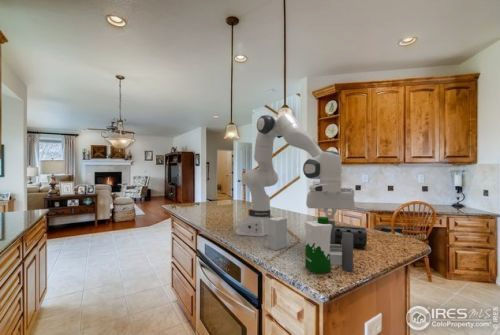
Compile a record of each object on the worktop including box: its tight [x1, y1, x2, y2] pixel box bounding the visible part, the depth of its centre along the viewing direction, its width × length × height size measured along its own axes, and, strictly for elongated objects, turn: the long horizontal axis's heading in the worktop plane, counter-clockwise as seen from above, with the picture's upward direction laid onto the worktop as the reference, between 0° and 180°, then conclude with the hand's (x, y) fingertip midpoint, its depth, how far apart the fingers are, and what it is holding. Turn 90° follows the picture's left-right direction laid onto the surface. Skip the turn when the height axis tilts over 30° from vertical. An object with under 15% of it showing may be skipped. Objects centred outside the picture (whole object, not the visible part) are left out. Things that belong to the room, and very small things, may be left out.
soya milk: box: [304, 216, 332, 274], centre depth 92 cm, size 9×9×20 cm
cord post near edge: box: [341, 232, 354, 273], centre depth 92 cm, size 4×4×14 cm
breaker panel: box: [330, 244, 342, 266], centre depth 104 cm, size 11×14×6 cm
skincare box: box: [267, 215, 288, 251], centre depth 117 cm, size 8×6×15 cm
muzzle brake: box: [335, 225, 368, 248], centre depth 123 cm, size 10×28×10 cm, turn 73°
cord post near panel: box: [328, 220, 336, 245], centre depth 114 cm, size 4×4×14 cm
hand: (329, 218), depth 103 cm, fingers closed
